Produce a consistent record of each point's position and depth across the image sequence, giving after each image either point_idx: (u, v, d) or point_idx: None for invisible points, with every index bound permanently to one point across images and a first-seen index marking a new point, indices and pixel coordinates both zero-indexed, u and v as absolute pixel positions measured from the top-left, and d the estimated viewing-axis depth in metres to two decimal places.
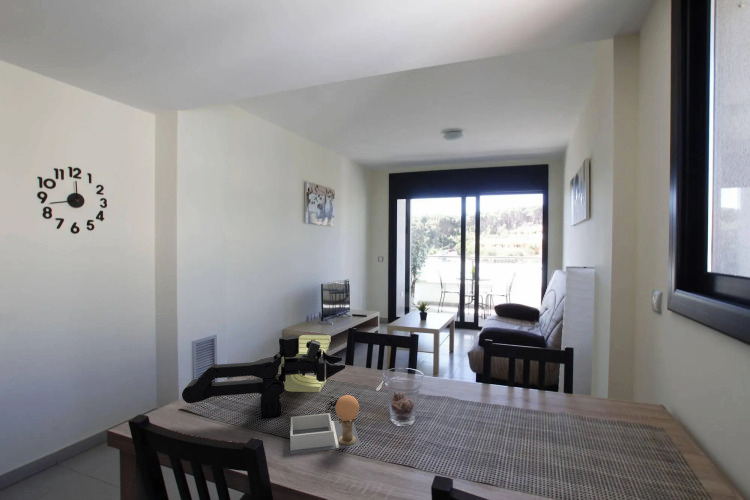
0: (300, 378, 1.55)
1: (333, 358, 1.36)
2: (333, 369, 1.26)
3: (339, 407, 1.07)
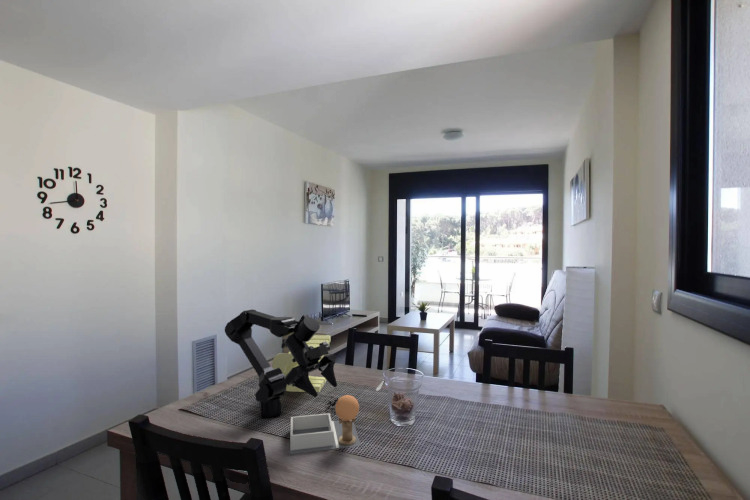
0: None
1: (331, 377, 1.19)
2: (306, 386, 1.10)
3: (339, 407, 1.07)
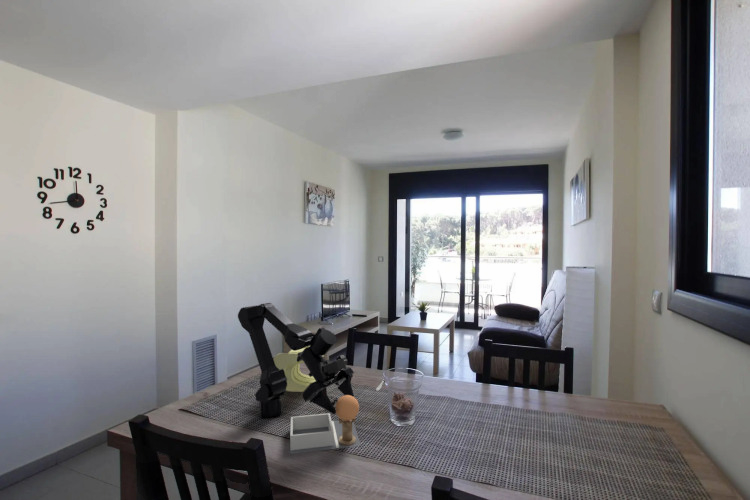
0: (300, 378, 1.55)
1: (349, 392, 1.15)
2: (323, 402, 1.07)
3: (339, 407, 1.07)
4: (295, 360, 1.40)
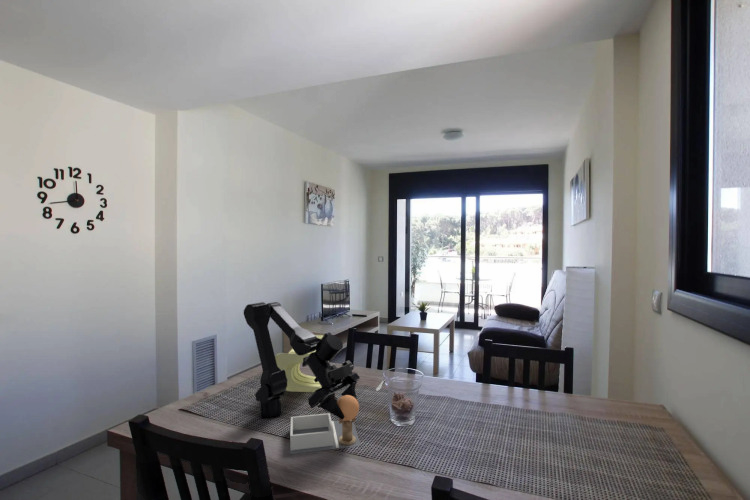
0: (300, 378, 1.55)
1: None
2: (332, 407, 1.06)
3: None
4: (295, 360, 1.40)
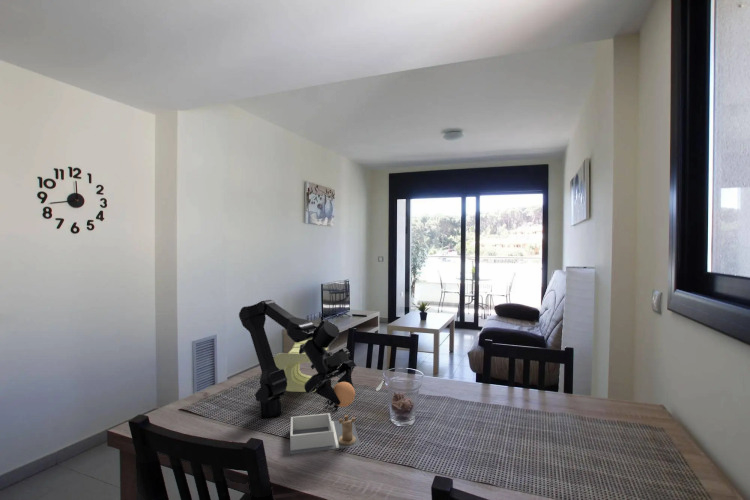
0: (300, 378, 1.55)
1: None
2: (328, 393, 1.07)
3: None
4: (295, 360, 1.40)
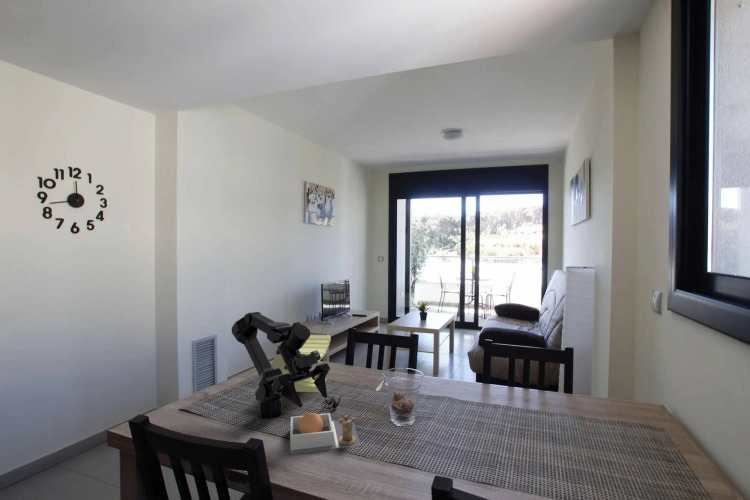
0: None
1: (322, 387, 1.15)
2: (291, 395, 1.08)
3: (301, 424, 1.09)
4: None
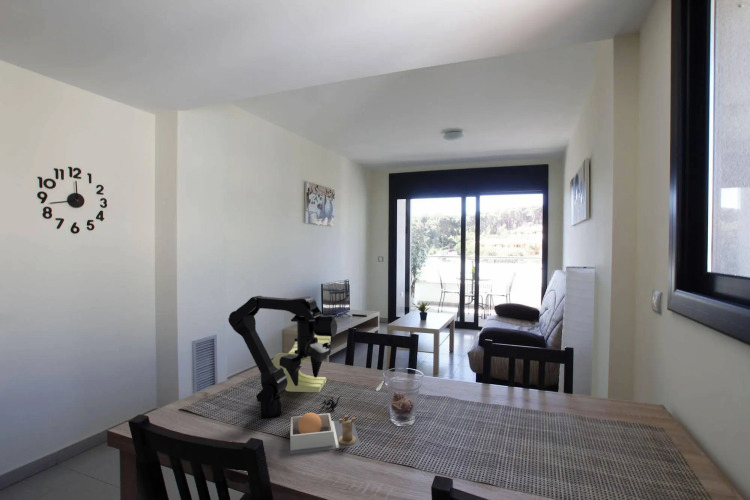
0: (300, 378, 1.55)
1: (316, 368, 1.28)
2: (292, 373, 1.19)
3: (300, 424, 1.10)
4: None
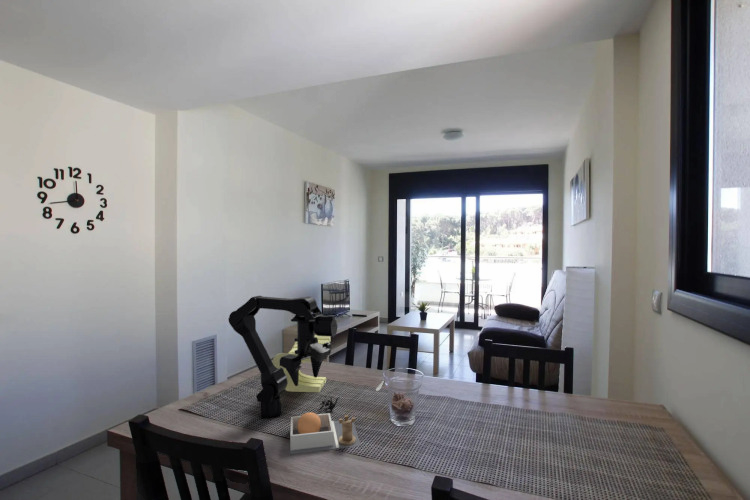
0: (300, 378, 1.55)
1: (316, 368, 1.28)
2: (292, 373, 1.19)
3: (299, 424, 1.10)
4: None
